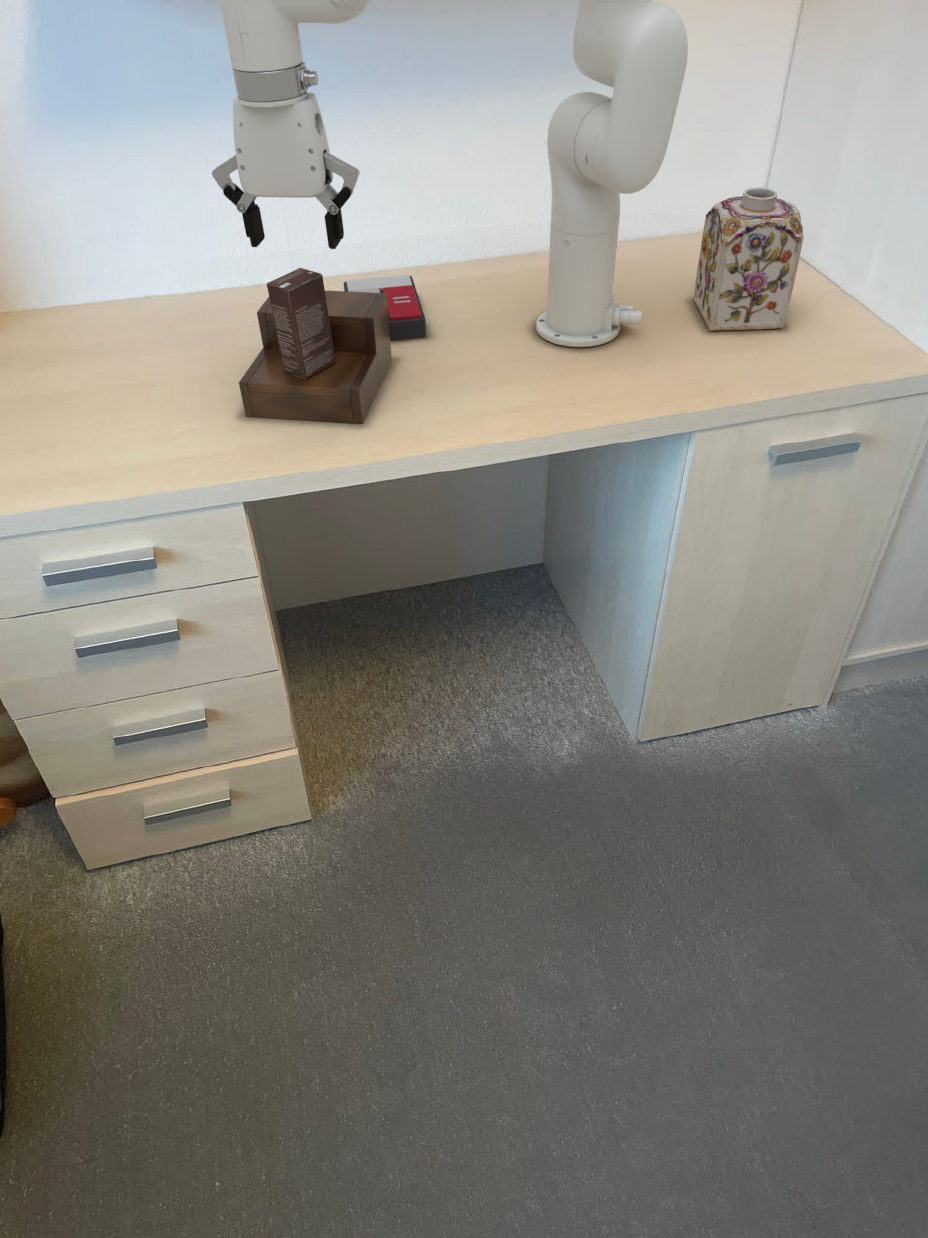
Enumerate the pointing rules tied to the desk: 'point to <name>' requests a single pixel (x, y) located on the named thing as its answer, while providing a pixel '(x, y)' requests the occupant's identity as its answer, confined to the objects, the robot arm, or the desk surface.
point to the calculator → (396, 304)
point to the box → (302, 322)
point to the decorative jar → (748, 261)
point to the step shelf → (340, 385)
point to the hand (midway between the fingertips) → (296, 243)
